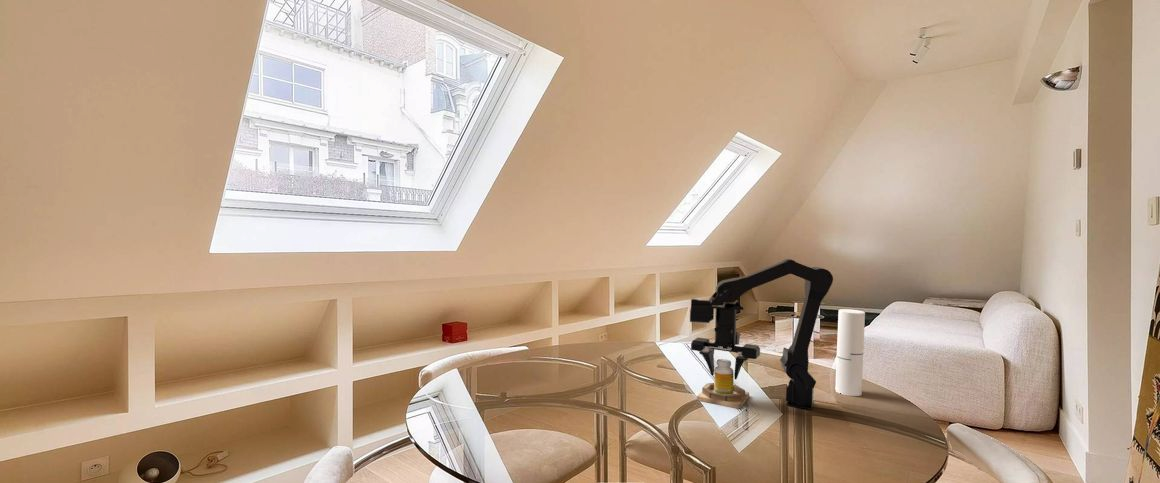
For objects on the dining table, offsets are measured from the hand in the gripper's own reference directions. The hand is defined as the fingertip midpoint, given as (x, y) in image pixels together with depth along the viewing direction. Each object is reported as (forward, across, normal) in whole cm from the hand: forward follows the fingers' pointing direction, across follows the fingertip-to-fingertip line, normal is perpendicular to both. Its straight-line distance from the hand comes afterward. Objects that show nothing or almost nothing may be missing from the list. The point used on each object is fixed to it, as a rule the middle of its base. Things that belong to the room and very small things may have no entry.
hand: (724, 377), depth 150 cm
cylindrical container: (+7, -31, -27) cm, 42 cm away
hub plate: (+6, 0, 0) cm, 6 cm away
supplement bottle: (+5, 0, 0) cm, 5 cm away
